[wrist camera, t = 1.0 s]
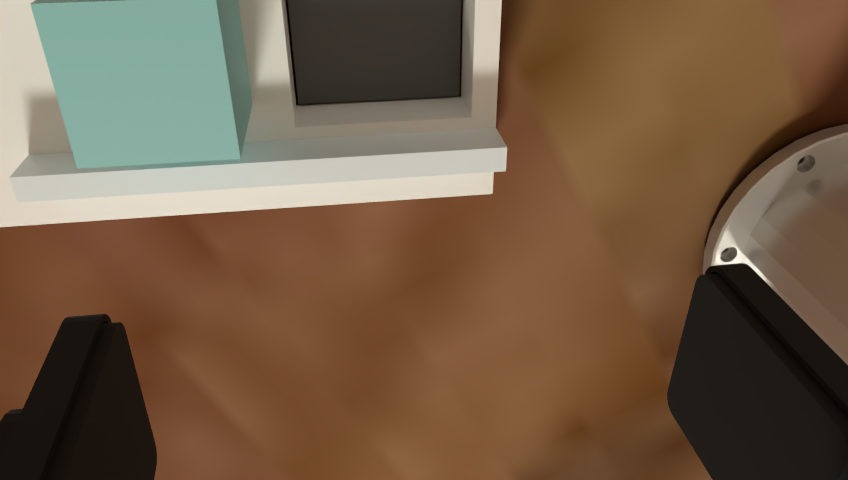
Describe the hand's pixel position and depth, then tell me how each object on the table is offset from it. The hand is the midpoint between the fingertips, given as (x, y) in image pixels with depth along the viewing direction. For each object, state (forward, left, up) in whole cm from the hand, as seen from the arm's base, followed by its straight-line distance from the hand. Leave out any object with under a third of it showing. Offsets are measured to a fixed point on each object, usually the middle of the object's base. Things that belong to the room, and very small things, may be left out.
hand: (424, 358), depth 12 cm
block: (+7, -1, -17) cm, 19 cm away
